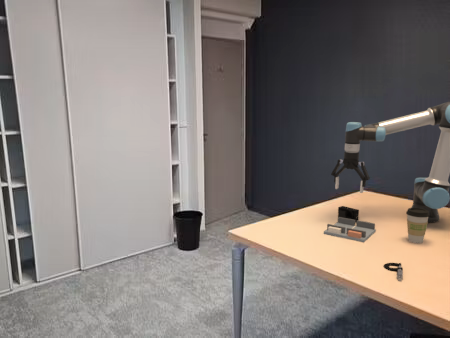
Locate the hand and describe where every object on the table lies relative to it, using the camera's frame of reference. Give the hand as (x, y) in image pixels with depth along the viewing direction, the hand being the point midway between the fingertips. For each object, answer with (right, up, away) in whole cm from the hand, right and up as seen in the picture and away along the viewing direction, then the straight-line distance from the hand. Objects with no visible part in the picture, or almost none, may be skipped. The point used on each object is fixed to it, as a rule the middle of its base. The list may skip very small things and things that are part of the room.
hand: (348, 190), depth 207 cm
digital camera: (+1, -17, +5) cm, 18 cm away
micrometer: (-1, -29, -57) cm, 64 cm away
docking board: (-4, -20, -14) cm, 25 cm away
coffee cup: (+23, -22, -26) cm, 41 cm away
